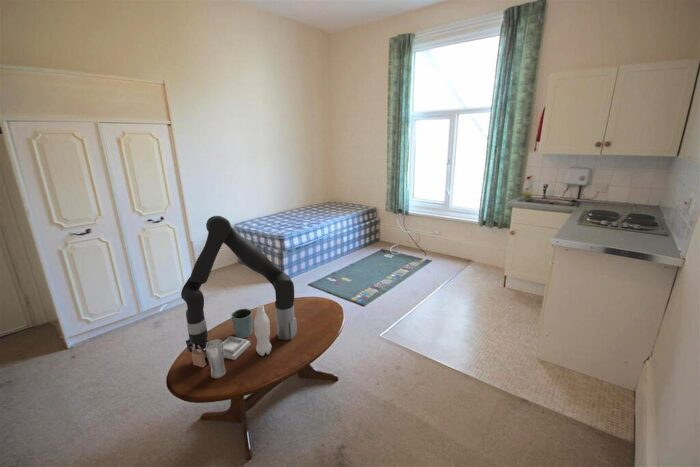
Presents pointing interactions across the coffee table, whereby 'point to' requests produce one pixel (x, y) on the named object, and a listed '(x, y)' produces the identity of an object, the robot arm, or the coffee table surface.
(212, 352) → the beer glass
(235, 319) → the teal cup
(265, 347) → the water bottle
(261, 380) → the coffee table surface
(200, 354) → the terracotta block
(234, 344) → the grey stand
